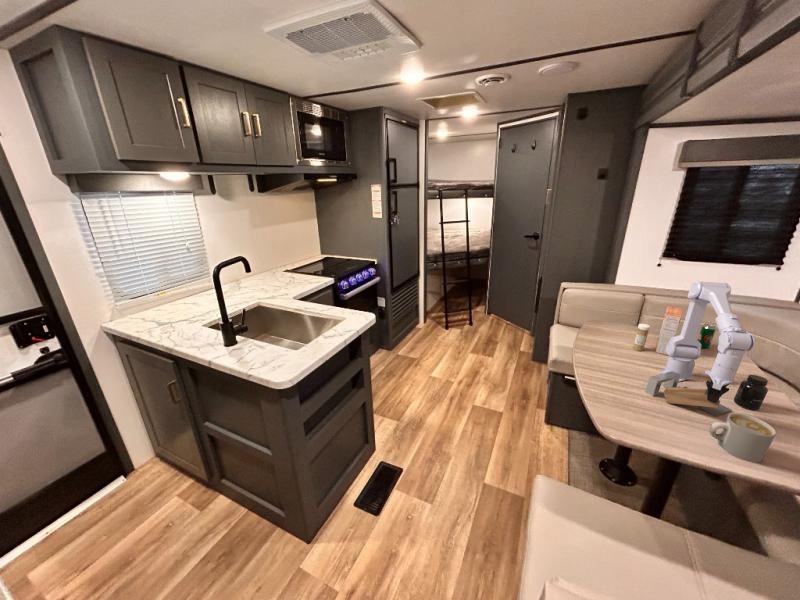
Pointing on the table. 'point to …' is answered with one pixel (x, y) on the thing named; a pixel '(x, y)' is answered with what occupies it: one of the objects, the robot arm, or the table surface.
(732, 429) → the coffee mug
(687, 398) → the wooden block
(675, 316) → the cracker box
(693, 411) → the table surface
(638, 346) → the sprinkles bottle
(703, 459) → the table surface
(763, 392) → the supplement bottle
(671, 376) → the housing
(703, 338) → the soda can
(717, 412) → the pad
